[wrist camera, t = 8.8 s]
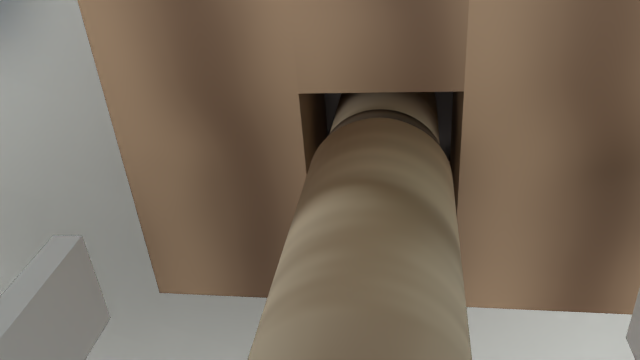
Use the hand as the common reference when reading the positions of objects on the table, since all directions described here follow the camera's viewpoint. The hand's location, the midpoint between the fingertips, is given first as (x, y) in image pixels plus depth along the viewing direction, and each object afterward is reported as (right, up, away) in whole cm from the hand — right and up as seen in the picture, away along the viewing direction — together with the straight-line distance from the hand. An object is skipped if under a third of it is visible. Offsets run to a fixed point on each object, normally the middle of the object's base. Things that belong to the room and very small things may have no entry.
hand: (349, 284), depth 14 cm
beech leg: (+2, +5, +9) cm, 11 cm away
